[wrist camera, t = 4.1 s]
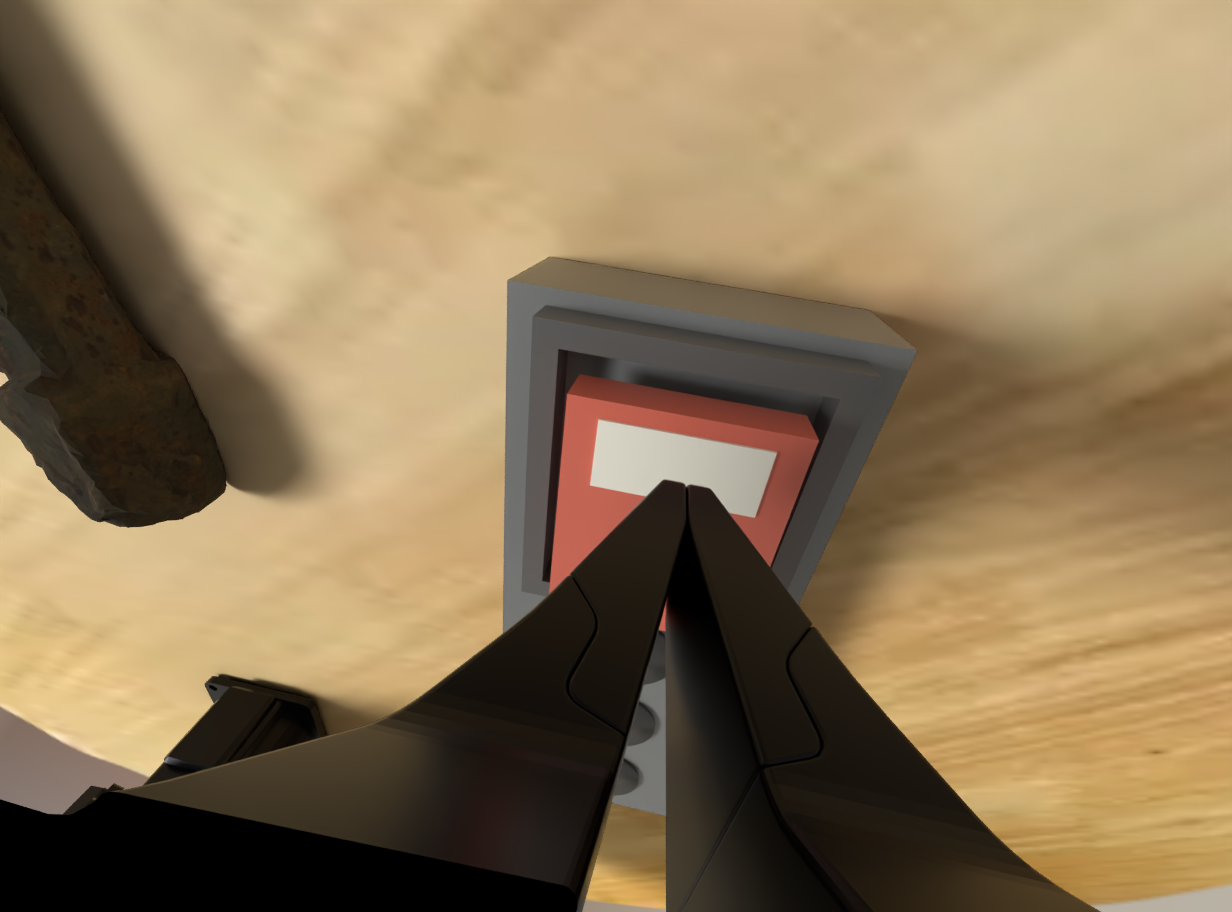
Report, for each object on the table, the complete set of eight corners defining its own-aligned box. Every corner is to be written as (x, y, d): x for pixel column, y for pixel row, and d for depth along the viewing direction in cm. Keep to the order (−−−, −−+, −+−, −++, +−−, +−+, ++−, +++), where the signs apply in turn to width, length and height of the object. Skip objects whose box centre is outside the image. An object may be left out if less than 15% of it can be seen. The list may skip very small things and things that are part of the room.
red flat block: (735, 611, 13) (739, 649, 12) (559, 574, 14) (547, 607, 13) (806, 415, 10) (819, 441, 9) (579, 374, 11) (566, 395, 10)
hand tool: (-235, -153, 12) (-691, -308, 8) (-125, -199, 11) (-571, -397, 7) (184, 484, 21) (66, 556, 17) (261, 482, 21) (155, 557, 17)
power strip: (696, 744, 25) (695, 849, 21) (524, 705, 25) (493, 801, 21) (869, 310, 13) (937, 366, 9) (549, 256, 14) (490, 289, 10)
